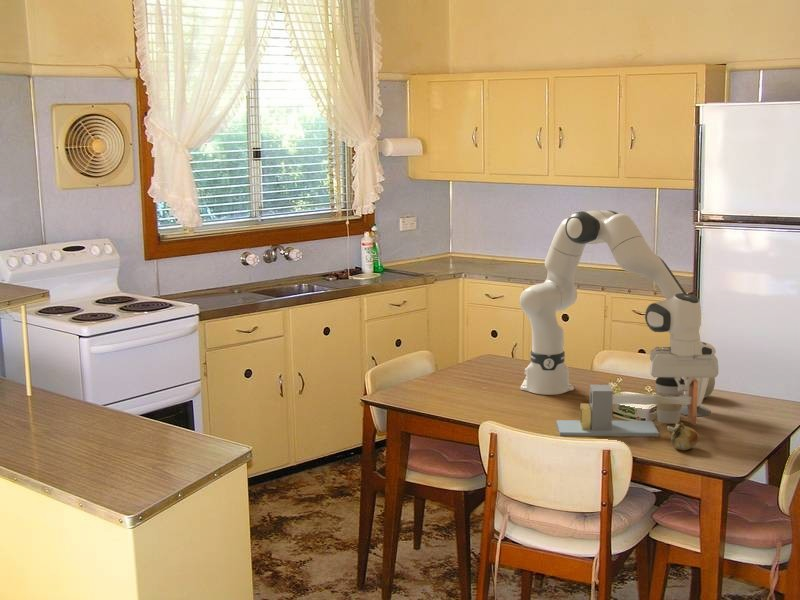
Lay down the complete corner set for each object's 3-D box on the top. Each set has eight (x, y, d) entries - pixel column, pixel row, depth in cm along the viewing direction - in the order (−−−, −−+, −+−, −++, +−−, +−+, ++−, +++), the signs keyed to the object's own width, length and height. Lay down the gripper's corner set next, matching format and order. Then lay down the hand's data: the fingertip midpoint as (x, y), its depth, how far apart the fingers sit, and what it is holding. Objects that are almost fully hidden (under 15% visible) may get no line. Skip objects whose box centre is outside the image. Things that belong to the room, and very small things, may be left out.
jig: (556, 423, 312) (557, 382, 310) (651, 424, 310) (653, 382, 308) (559, 435, 301) (560, 393, 298) (659, 436, 299) (660, 393, 296)
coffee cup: (648, 420, 314) (650, 375, 311) (663, 414, 320) (665, 369, 317) (673, 426, 308) (675, 380, 305) (688, 420, 314) (690, 374, 311)
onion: (686, 455, 282) (687, 428, 281) (664, 448, 289) (665, 422, 287) (702, 450, 287) (704, 423, 285) (680, 442, 293) (681, 417, 291)
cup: (687, 418, 316) (690, 353, 312) (668, 407, 327) (671, 345, 323) (718, 414, 319) (721, 350, 315) (698, 404, 330) (701, 342, 326)
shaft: (597, 417, 308) (598, 375, 306) (691, 418, 306) (693, 376, 303) (599, 423, 302) (600, 381, 300) (696, 424, 300) (698, 381, 298)
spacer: (579, 423, 309) (580, 403, 308) (587, 423, 309) (588, 403, 307) (581, 429, 303) (582, 409, 302) (590, 429, 303) (590, 409, 302)
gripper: (652, 349, 296) (650, 393, 299) (721, 349, 295) (718, 393, 298) (648, 344, 303) (646, 387, 305) (715, 344, 301) (713, 388, 304)
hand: (682, 390), depth 301 cm, fingers closed
